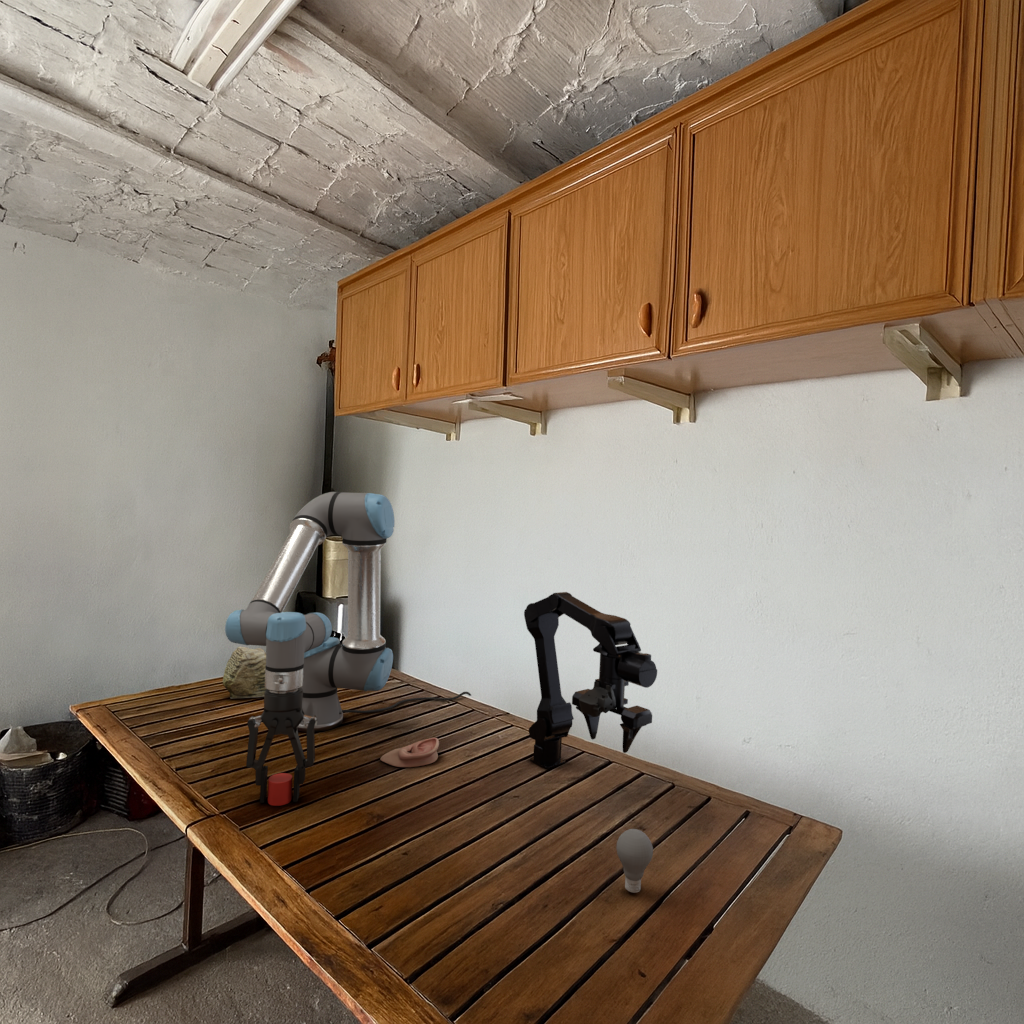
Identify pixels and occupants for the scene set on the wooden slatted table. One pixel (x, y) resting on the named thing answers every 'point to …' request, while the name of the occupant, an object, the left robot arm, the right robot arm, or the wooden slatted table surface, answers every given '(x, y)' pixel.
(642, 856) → the light bulb
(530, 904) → the wooden slatted table surface
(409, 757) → the anatomical model
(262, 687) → the fossil
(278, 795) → the canister
